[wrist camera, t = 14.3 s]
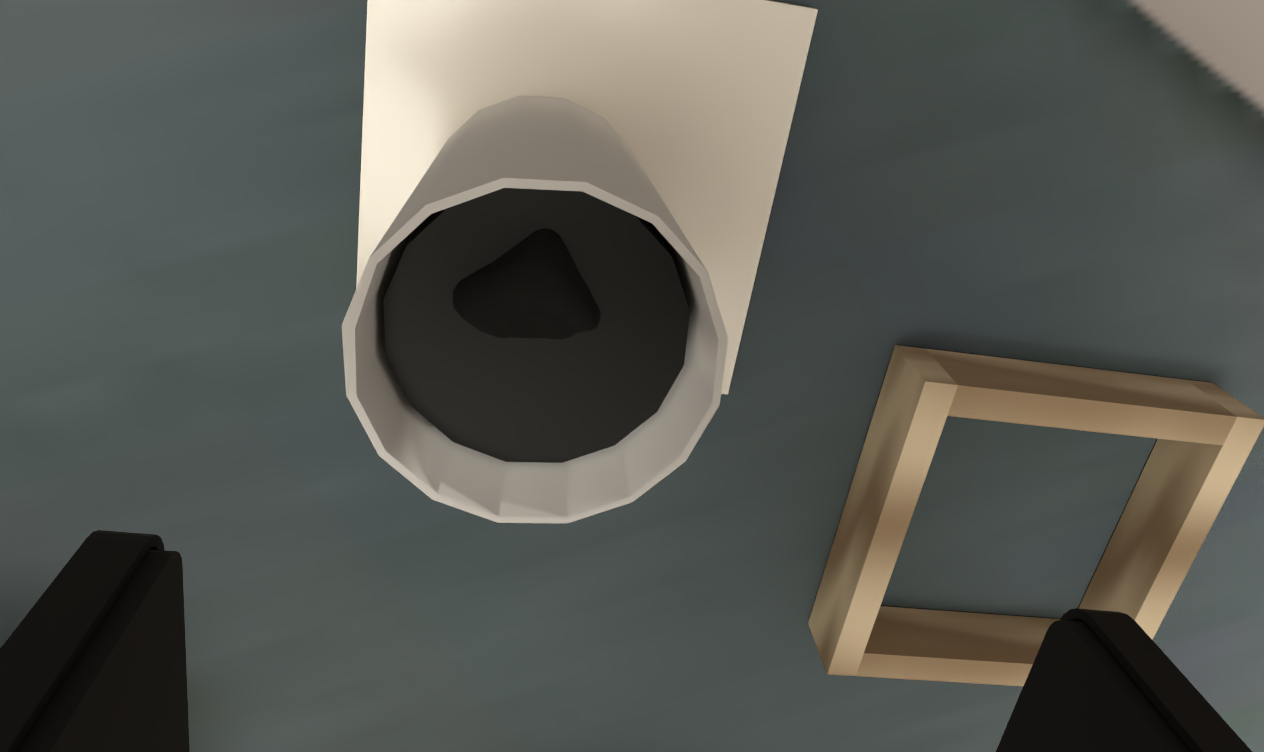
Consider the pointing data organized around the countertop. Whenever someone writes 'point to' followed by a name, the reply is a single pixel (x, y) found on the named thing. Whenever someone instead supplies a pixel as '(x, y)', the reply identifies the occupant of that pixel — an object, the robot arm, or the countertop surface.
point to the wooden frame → (1035, 395)
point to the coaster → (600, 104)
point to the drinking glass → (534, 323)
